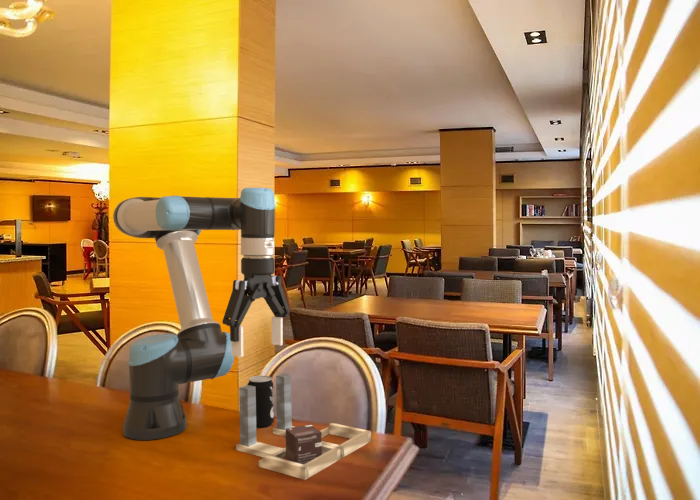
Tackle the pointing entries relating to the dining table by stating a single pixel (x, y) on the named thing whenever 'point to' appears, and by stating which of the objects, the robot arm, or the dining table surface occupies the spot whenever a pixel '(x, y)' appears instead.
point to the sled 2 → (354, 434)
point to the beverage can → (263, 400)
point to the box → (303, 444)
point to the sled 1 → (274, 453)
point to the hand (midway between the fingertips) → (258, 350)
